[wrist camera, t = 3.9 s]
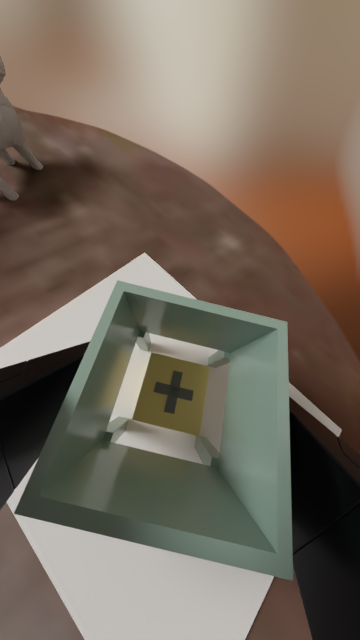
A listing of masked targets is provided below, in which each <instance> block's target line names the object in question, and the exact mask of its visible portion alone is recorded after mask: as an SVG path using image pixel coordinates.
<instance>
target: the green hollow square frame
mask: <svg viewBox="0 0 360 640" xmlns="http://www.w3.org/2000/svg"><path fill="white" fill-rule="evenodd" d="M149 333H151V334H155V335H159V336H163V337H167V338H171V339H175V340H179V341H183V342H188V343H192V344H196V345H200V346H204V347H208V348H212V349H216V350H218V351H217V352H215V353H214V354H212V355H211V356H209V358H208V364H207V366H210V367H214V368H217V367H220V366H222V365H225V364H228V363H229V371H228V381H227V390H226V399H225V408H224V417H223V426H222V436H221V445H220V453H219V452H218V450H217V449H216V448H215V447H214V446H213V445H212V444H211V442H210V441H209V440H208V439H207V438H206V437H201V436H197V435H196V440H195V447H194V448H195V450H196V451H197V453H198V455H199V457H200V459H201V461H202V463H203V464H200V463H196V462H192V461H187V460H183V459H179V458H175V457H171V456H167V455H163V454H158V453H154V452H150V451H146V450H142V449H138V448H134V447H130V446H125V445H121V444H117V443H115V442H116V441H117V440H118V438H119V437H120V436H121V435H122V434H123V433H124V432H125V430H126V427H127V423H128V420H129V419H127V418H123V417H117V418H116V419H114V420H113V421H111V422H109V421H110V418H111V415H112V412H113V409H114V406H115V403H116V400H117V397H118V394H119V391H120V388H121V385H122V382H123V379H124V376H125V373H126V370H127V367H128V364H129V361H130V358H131V355H132V352H133V349H134V346H135V343H137V345H138V346H139V348H140V349H141V350H145V351H149V349H150V346H151V339H150V335H149ZM14 514H17V515H21V516H25V517H29V518H34V519H38V520H42V521H46V522H50V523H54V524H59V525H63V526H67V527H71V528H75V529H79V530H84V531H88V532H92V533H96V534H100V535H104V536H109V537H113V538H117V539H121V540H125V541H129V542H134V543H138V544H142V545H146V546H150V547H154V548H159V549H163V550H167V551H171V552H175V553H179V554H184V555H188V556H192V557H196V558H200V559H204V560H209V561H213V562H217V563H221V564H225V565H229V566H234V567H238V568H242V569H246V570H250V571H254V572H259V573H263V574H267V575H271V576H275V577H279V578H283V579H288V580H292V581H293V551H292V507H291V464H290V421H289V377H288V334H287V322H285V321H281V320H277V319H273V318H269V317H265V316H261V315H257V314H253V313H248V312H244V311H240V310H236V309H232V308H228V307H224V306H220V305H216V304H212V303H208V302H204V301H200V300H196V299H192V298H188V297H183V296H179V295H175V294H171V293H167V292H163V291H159V290H155V289H151V288H147V287H143V286H139V285H135V284H131V283H127V282H122V281H118V280H117V282H116V284H115V287H114V289H113V291H112V293H111V296H110V298H109V300H108V302H107V305H106V307H105V309H104V311H103V314H102V316H101V318H100V321H99V323H98V325H97V327H96V330H95V332H94V334H93V336H92V339H91V341H90V343H89V345H88V348H87V350H86V352H85V354H84V357H83V359H82V361H81V363H80V366H79V368H78V370H77V372H76V375H75V377H74V379H73V381H72V384H71V386H70V388H69V390H68V393H67V395H66V397H65V399H64V402H63V404H62V406H61V408H60V411H59V413H58V415H57V417H56V420H55V422H54V424H53V426H52V429H51V431H50V433H49V435H48V438H47V440H46V442H45V444H44V447H43V449H42V451H41V453H40V456H39V458H38V460H37V462H36V465H35V467H34V469H33V472H32V474H31V476H30V478H29V481H28V483H27V485H26V487H25V490H24V492H23V494H22V496H21V499H20V501H19V503H18V505H17V508H16V510H15V512H14Z"/></svg>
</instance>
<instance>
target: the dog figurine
mask: <svg viewBox="0 0 360 640" xmlns="http://www.w3.org/2000/svg"><path fill="white" fill-rule="evenodd" d="M5 75H6V74H5V69H4V65H3V62H2V59H1V57H0V83H1V82H2V81H3V78H4V76H5ZM11 146H12V147H14V148H15V149H16V150H17V151H18V152H19V153H20V155H21V156H22V157H23V158H25V159H26V160H27V161H28V162H29V163H30V164H31V166H32V167H33V168H34V169H36V170H41V169H42V168H43V165H42V164H41V163H40V162H39V161H38V160H37V159H36V158H35V156H34V155H33V153H32V152H31V150H30V149H29V147H28V145H27V144H26V142H25V139H24V136H23V132H22V127H21V123H20V120H19V117H18V115H17V114H16V112H15V110H14V108H13V106H12V105H11V103H10V102H9V100H8V99H7V98H6V97H5V96H4V94H3V93H2V91H1V89H0V158H1V159H2V160H3V162H4V163H5V164H6V165H13V164H15V160H14V159H13V158H12V157H11V156H10V155H9V154H8V152H7V151H6V149H5V148H8V147H11ZM0 191H1V192H2V193H3V194H4V195H5V196H6V197H7V198H8V199H9V200H13V201H14V200H16V199H17V198H18V197H19V194H18V193H16V192H15V191H13V190H12V189H11V188H9V186H8V185H7V184H6V182H5V181H4V180H3V178H2V177H1V175H0Z"/></svg>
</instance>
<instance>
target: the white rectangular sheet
mask: <svg viewBox="0 0 360 640" xmlns="http://www.w3.org/2000/svg"><path fill="white" fill-rule="evenodd" d="M117 280H118V281H122V282H127V283H131V284H135V285H139V286H143V287H147V288H151V289H155V290H159V291H163V292H167V293H171V294H175V295H179V296H183V297H188V298H192V299H196V298H195V297H194V296H193V295H191V294H190V293H189V292H188V291H187V290H186V289H185V288H184V287H183V286H181V285H180V284H179V283H178V282H177V281H176V280H175V279H174V278H173V277H171V276H170V275H169V274H168V273H167V272H166V271H165V270H164V269H163V268H161V267H160V266H159V265H158V264H157V263H156V262H155V261H154V260H152V259H151V258H150V257H149V256H148V255H147V254H146V253H143V254H142V255H140V256H139V257H137V258H136V259H134V260H133V261H131V262H130V263H128V264H127V265H125V266H124V267H122V268H121V269H119V270H118V271H116V272H115V273H113V274H111V275H110V276H108V277H107V278H105V279H104V280H102V281H101V282H99V283H98V284H96V285H95V286H93V287H92V288H90V289H89V290H87V291H86V292H84V293H83V294H81V295H80V296H78V297H77V298H75V299H74V300H72V301H71V302H69V303H68V304H66V305H65V306H63V307H62V308H60V309H58V310H57V311H55V312H54V313H52V314H51V315H49V316H48V317H46V318H45V319H43V320H42V321H40V322H39V323H37V324H36V325H34V326H33V327H31V328H30V329H28V330H27V331H25V332H24V333H22V334H21V335H19V336H18V337H16V338H15V339H13V340H12V341H10V342H8V343H7V344H5V345H4V346H2V347H1V348H0V368H4V367H7V366H10V365H14V364H17V363H20V362H24V361H28V360H30V359H34V358H37V357H40V356H43V355H47V354H50V353H53V352H57V351H60V350H63V349H66V348H70V347H73V346H76V345H79V344H83V343H86V342H89V341H91V339H92V336H93V334H94V332H95V330H96V327H97V325H98V323H99V321H100V318H101V316H102V314H103V311H104V309H105V307H106V305H107V302H108V300H109V298H110V296H111V293H112V291H113V289H114V287H115V284H116V282H117ZM196 300H197V299H196ZM149 335H150V339H151V346H150V349H149V351H145V350H141V349H140V348H139V346H138V345H137V343H135V346H134V349H133V352H132V355H131V358H130V361H129V364H128V367H127V370H126V373H125V376H124V379H123V382H122V385H121V388H120V391H119V394H118V397H117V400H116V403H115V406H114V409H113V412H112V415H111V418H110V421H109V422H111V421H113V420H114V419H116V418H117V417H123V418H127V419H129V420H128V423H127V427H126V430H125V432H124V433H123V434H122V435H121V436H120V437H119V438H118V440H117V441H116V442H115V443H117V444H121V445H125V446H130V447H134V448H138V449H142V450H146V451H150V452H154V453H158V454H163V455H167V456H171V457H175V458H179V459H183V460H187V461H192V462H196V463H200V464H203V463H202V461H201V459H200V457H199V455H198V453H197V451H196V450H195V448H194V447H195V440H196V435H192V434H188V433H184V432H180V431H176V430H172V429H168V428H164V427H160V426H155V425H151V424H147V423H143V422H139V421H135V420H132V418H133V414H134V411H135V407H136V404H137V401H138V397H139V394H140V390H141V387H142V383H143V380H144V377H145V373H146V370H147V366H148V363H149V359H150V356H151V353H156V354H161V355H165V356H169V357H173V358H177V359H181V360H185V361H189V362H193V363H197V364H201V365H206V366H207V364H208V358H209V356H211V355H212V354H214V353H215V352H217V351H218V350H216V349H212V348H208V347H204V346H200V345H196V344H192V343H188V342H183V341H179V340H175V339H171V338H167V337H163V336H159V335H155V334H151V333H149ZM228 371H229V363H228V364H225V365H222V366H220V367H217V368H214V367H210V370H209V376H208V383H207V389H206V396H205V403H204V409H203V416H202V422H201V429H200V436H201V437H206V438H207V439H208V440H209V441H210V442H211V444H212V445H213V446H214V447H215V448H216V449H217V450H218V452H219V453H220V445H221V436H222V426H223V417H224V408H225V399H226V390H227V381H228ZM289 397H291V398H292V399H293V400H294V401H296V402H297V403H298V404H299V405H300V406H302V407H303V408H304V409H305V410H306V411H308V412H309V413H310V414H311V415H313V416H314V417H315V418H316V419H317V420H319V421H320V422H321V423H322V424H323V425H325V426H326V427H327V428H328V429H329V430H331V431H332V432H333V433H334V434H335V435H336V436H338V437H339V435H340V433H341V431H342V430H341V429H340V428H339V427H338V426H337V425H336V424H335V423H334V422H333V421H331V420H330V419H329V418H328V417H327V416H326V415H325V414H324V413H323V412H321V411H320V410H319V409H318V408H317V407H316V406H315V405H314V404H313V403H311V402H310V401H309V400H308V399H307V398H306V397H305V396H304V395H303V394H301V393H300V392H299V391H298V390H297V389H296V388H295V387H294V386H293V385H291V384H290V383H289ZM37 460H38V459H37ZM37 460H36V462H37ZM36 462H35V463H34V464H33V466H32V467H31V469H30V470H29V471H28V473H27V474H26V475H25V477H24V478H23V479H22V481H21V482H20V484H19V485H18V486H17V488H16V489H14V492H13V493H12V495H11V496H10V498H9V499H8V500H7V504H8V505H9V507H10V509H11V511H12V512H13V514H14V512H15V510H16V508H17V505H18V503H19V501H20V499H21V496H22V494H23V492H24V490H25V487H26V485H27V483H28V481H29V478H30V476H31V474H32V472H33V469H34V467H35V465H36ZM14 516H15V518H16V519H17V521H18V523H19V525H20V527H21V528H22V530H23V532H24V534H25V535H26V537H27V539H28V541H29V542H30V544H31V546H32V548H33V549H34V551H35V553H36V555H37V556H38V558H39V560H40V562H41V564H42V565H43V567H44V569H45V571H46V572H47V574H48V576H49V578H50V579H51V581H52V583H53V585H54V586H55V588H56V590H57V592H58V594H59V595H60V597H61V599H62V601H63V602H64V604H65V606H66V608H67V609H68V611H69V613H70V615H71V616H72V618H73V620H74V622H75V623H76V625H77V627H78V629H79V631H80V632H81V634H82V636H83V638H84V639H85V640H245V639H246V637H247V634H248V632H249V630H250V628H251V626H252V624H253V621H254V619H255V617H256V615H257V613H258V611H259V608H260V606H261V604H262V602H263V600H264V598H265V595H266V593H267V591H268V589H269V587H270V585H271V582H272V580H273V578H274V576H271V575H267V574H263V573H259V572H254V571H250V570H246V569H242V568H238V567H234V566H229V565H225V564H221V563H217V562H213V561H209V560H204V559H200V558H196V557H192V556H188V555H184V554H179V553H175V552H171V551H167V550H163V549H159V548H154V547H150V546H146V545H142V544H138V543H134V542H129V541H125V540H121V539H117V538H113V537H109V536H104V535H100V534H96V533H92V532H88V531H84V530H79V529H75V528H71V527H67V526H63V525H59V524H54V523H50V522H46V521H42V520H38V519H34V518H29V517H25V516H21V515H17V514H14Z"/></svg>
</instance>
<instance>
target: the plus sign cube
mask: <svg viewBox="0 0 360 640" xmlns="http://www.w3.org/2000/svg"><path fill="white" fill-rule="evenodd" d="M209 370H210V366H206V365H201V364H197V363H193V362H189V361H185V360H181V359H177V358H173V357H169V356H165V355H161V354H156V353H151V356H150V359H149V363H148V366H147V370H146V373H145V377H144V380H143V383H142V387H141V390H140V394H139V397H138V401H137V404H136V407H135V411H134V414H133V418H132V420H135V421H139V422H143V423H147V424H151V425H155V426H160V427H164V428H168V429H172V430H176V431H180V432H184V433H188V434H192V435H197V436H200V429H201V422H202V416H203V409H204V403H205V396H206V389H207V383H208V376H209Z"/></svg>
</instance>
